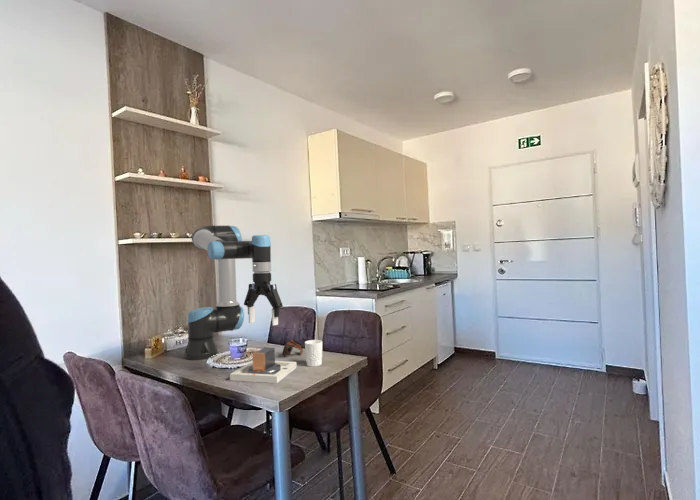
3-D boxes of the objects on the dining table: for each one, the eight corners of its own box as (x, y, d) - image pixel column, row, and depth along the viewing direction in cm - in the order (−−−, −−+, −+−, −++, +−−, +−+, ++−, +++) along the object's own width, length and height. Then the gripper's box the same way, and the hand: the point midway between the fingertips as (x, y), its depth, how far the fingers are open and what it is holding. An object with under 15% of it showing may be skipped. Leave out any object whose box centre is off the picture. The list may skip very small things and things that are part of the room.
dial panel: (230, 380, 155) (229, 373, 155) (254, 365, 174) (254, 359, 174) (277, 383, 150) (276, 376, 150) (296, 367, 170) (296, 361, 170)
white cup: (319, 361, 179) (318, 339, 179) (325, 365, 172) (325, 342, 172) (302, 363, 176) (302, 341, 176) (308, 368, 169) (308, 344, 169)
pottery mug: (284, 353, 197) (292, 338, 198) (300, 362, 194) (308, 347, 195) (275, 353, 186) (283, 337, 187) (291, 363, 183) (299, 347, 184)
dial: (258, 365, 170) (257, 345, 170) (285, 367, 167) (285, 347, 167) (242, 375, 158) (241, 353, 158) (271, 376, 154) (271, 355, 154)
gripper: (234, 272, 166) (235, 322, 166) (277, 273, 152) (278, 327, 152) (248, 271, 173) (249, 319, 173) (290, 272, 159) (291, 324, 159)
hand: (263, 323), depth 162 cm, fingers open, 13 cm apart
